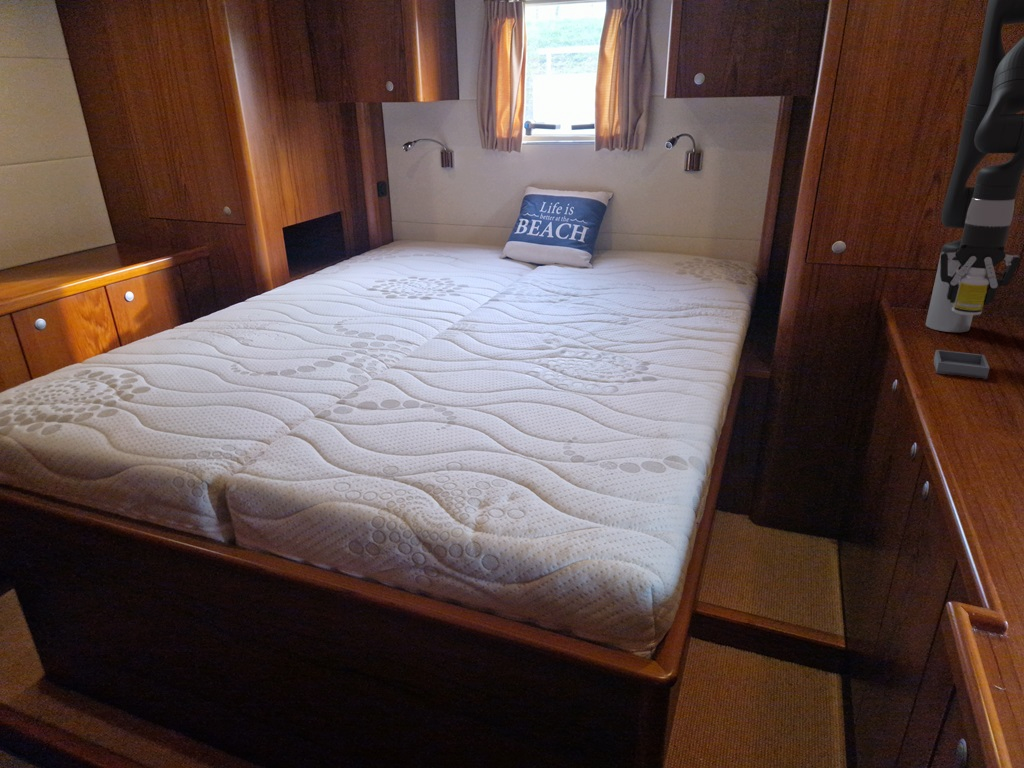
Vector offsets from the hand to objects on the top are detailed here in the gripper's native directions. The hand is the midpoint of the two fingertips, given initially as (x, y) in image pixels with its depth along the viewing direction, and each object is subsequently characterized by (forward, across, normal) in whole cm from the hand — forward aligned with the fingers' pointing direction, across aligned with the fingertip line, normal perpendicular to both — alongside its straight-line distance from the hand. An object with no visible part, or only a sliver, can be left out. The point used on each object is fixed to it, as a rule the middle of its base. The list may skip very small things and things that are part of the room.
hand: (968, 302), depth 139 cm
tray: (+12, 0, +9) cm, 15 cm away
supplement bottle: (+2, 0, 0) cm, 2 cm away
